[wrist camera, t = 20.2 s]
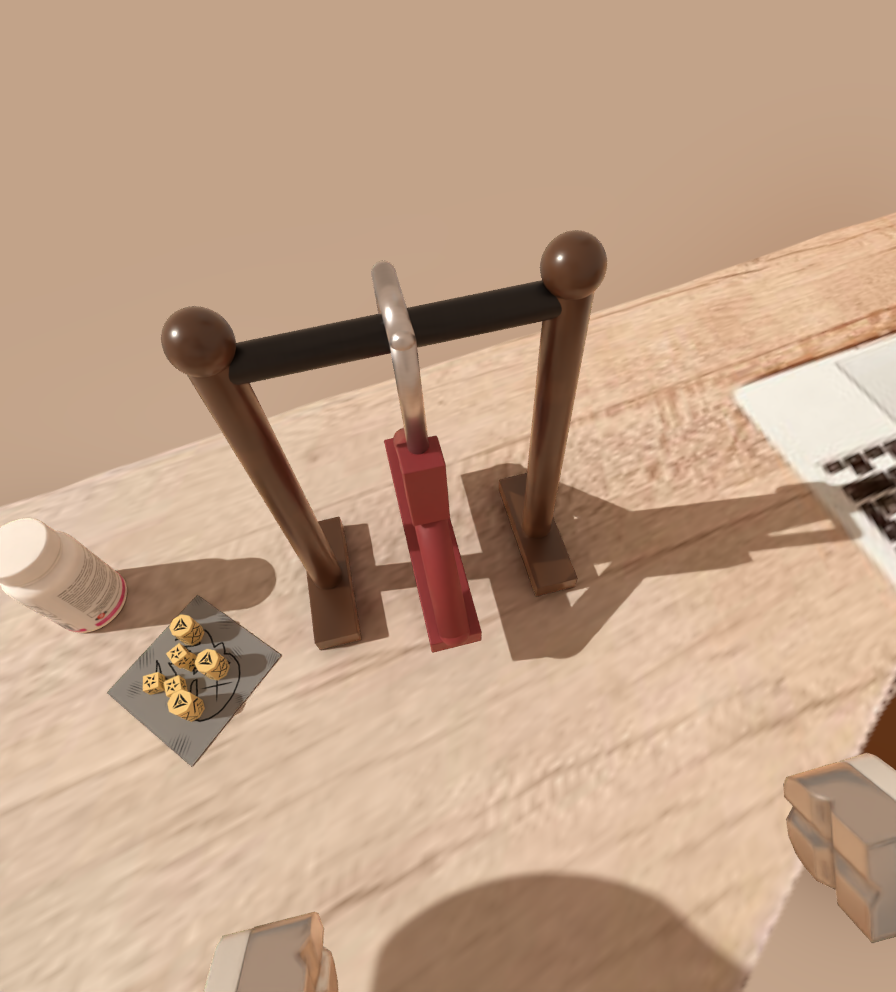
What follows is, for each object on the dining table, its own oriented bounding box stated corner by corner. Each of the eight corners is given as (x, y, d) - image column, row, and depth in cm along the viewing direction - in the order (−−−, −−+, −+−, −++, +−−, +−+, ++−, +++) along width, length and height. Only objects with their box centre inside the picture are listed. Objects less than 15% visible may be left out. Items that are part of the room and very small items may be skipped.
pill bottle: (124, 560, 43) (52, 500, 36) (133, 616, 40) (58, 562, 33) (57, 587, 42) (-30, 530, 35) (63, 645, 40) (-30, 597, 33)
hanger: (483, 647, 34) (487, 461, 18) (433, 659, 34) (392, 482, 18) (426, 439, 42) (393, 182, 26) (385, 448, 42) (327, 194, 26)
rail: (319, 650, 38) (138, 416, 18) (306, 534, 43) (150, 248, 23) (575, 587, 40) (663, 305, 20) (534, 481, 45) (572, 168, 25)
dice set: (193, 620, 40) (181, 610, 38) (247, 660, 38) (236, 651, 37) (136, 683, 38) (121, 675, 36) (190, 728, 36) (176, 722, 35)
